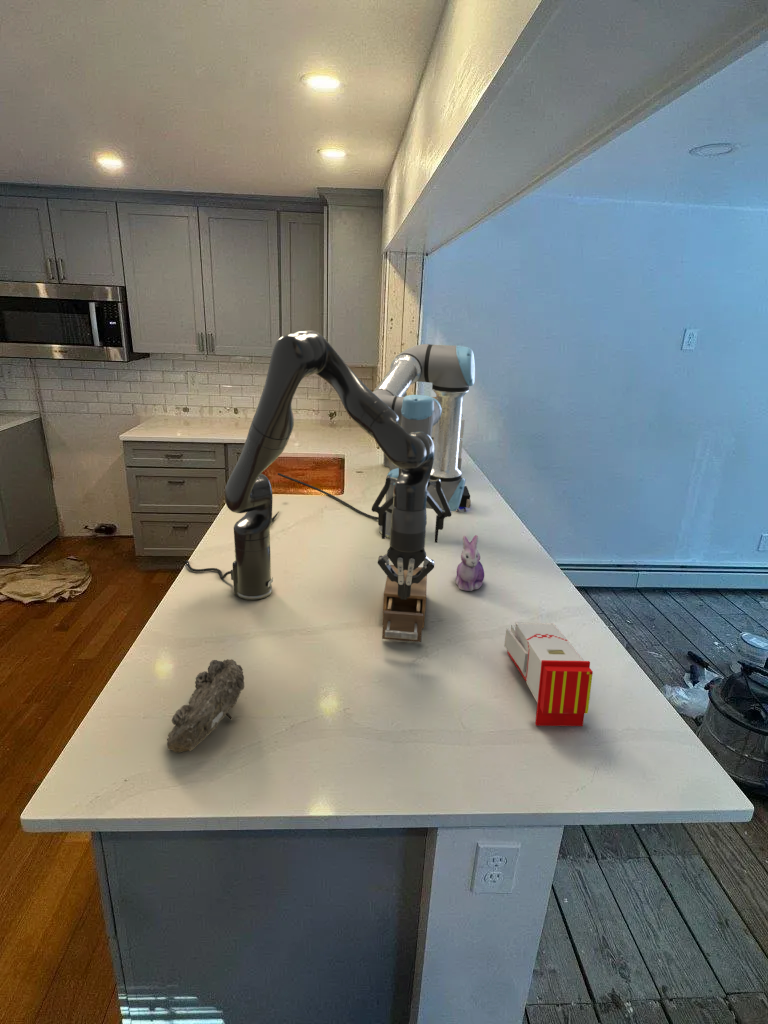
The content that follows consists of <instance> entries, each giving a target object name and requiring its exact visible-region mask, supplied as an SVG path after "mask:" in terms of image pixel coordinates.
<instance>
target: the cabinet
mask: <svg viewBox="0 0 768 1024" xmlns="http://www.w3.org/2000/svg"><path fill="white" fill-rule="evenodd" d="M389 565H390V566H391V567H392V569H393V570H394V571H395V572H396V574H398V569H397V568H396V567H395V566H394V565H393V564H389ZM422 567H423V566H418V567H417V569H415V570H413V575H415V574H416V573H417V572H418V571H419V570H420V569H421V568H422ZM406 577H407V570H404V581H406ZM427 588H428V574H427V575H426V576H425V577H424V578H423V579H422V580H421V581H420V582H419V583H418V584H416V583H413V584H412V585H411V593H410V597H407V598H412V599H420V613H422V614H423V621H422V629H425V619H426V608H427V607H426V606H427V591H428V590H427ZM389 597H398V583H397V582H395V581H394V582H392V581H391V580H390V579H389V578H388V576H387V575H386V580H385V585H384V591H383V605H382V613H383V612H384V610H385V611H387V608H388V602H389ZM400 598H401V597H400ZM381 624H382V626H383V621H382V623H381Z"/></svg>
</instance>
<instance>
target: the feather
mask: <svg viewBox="0 0 768 1024" xmlns="http://www.w3.org/2000/svg"><path fill="white" fill-rule="evenodd" d="M278 514H279V512H277V513H276V514H275V515H274V516H272V524H273V523H274V521H275V520H276V518H277V516H278Z"/></svg>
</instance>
